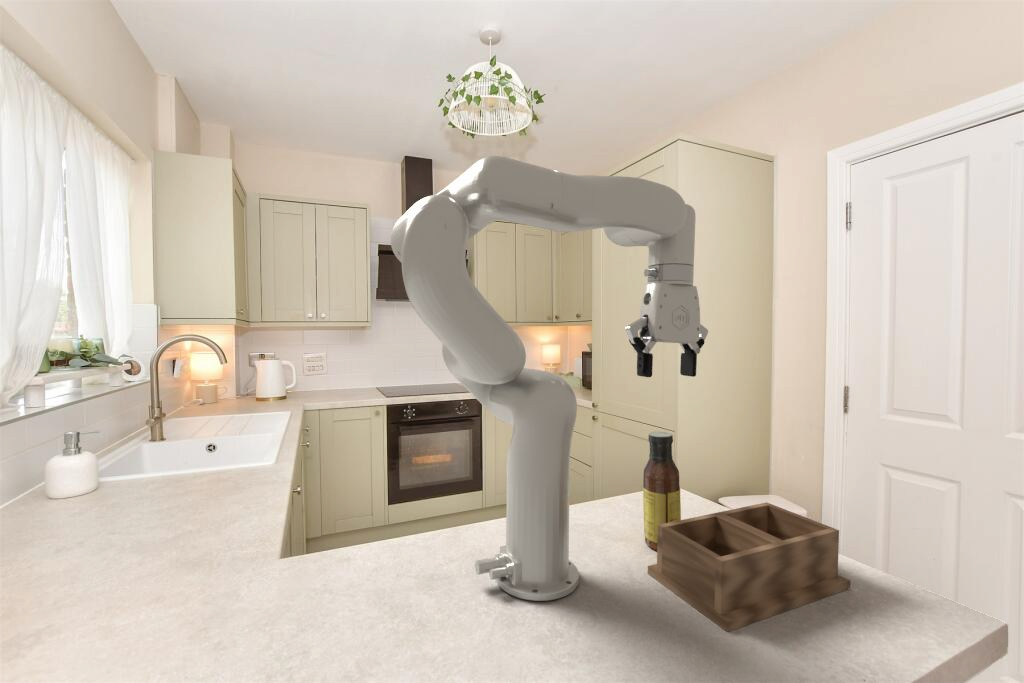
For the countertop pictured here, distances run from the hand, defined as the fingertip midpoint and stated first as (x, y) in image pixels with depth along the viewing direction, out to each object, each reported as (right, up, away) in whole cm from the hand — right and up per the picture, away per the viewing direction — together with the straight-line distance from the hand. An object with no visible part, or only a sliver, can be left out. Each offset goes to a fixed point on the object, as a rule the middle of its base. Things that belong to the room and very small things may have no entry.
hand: (666, 376), depth 81 cm
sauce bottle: (-1, -30, +1) cm, 30 cm away
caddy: (+9, -30, -10) cm, 33 cm away
